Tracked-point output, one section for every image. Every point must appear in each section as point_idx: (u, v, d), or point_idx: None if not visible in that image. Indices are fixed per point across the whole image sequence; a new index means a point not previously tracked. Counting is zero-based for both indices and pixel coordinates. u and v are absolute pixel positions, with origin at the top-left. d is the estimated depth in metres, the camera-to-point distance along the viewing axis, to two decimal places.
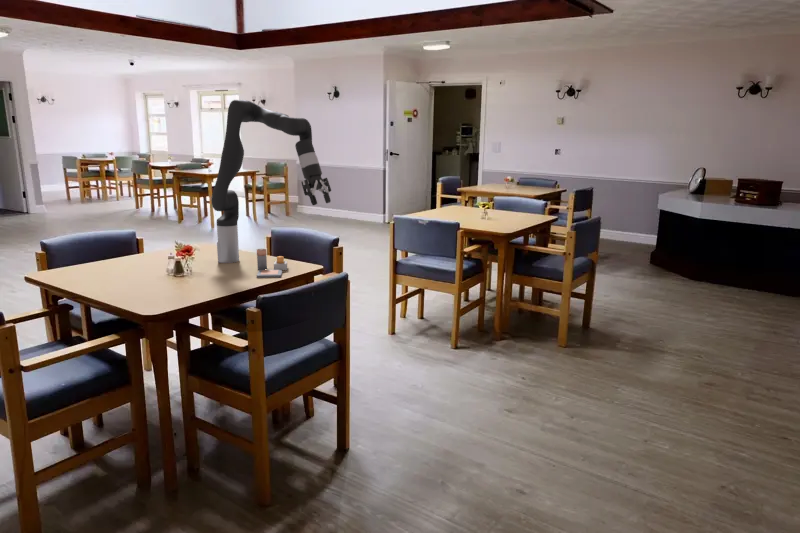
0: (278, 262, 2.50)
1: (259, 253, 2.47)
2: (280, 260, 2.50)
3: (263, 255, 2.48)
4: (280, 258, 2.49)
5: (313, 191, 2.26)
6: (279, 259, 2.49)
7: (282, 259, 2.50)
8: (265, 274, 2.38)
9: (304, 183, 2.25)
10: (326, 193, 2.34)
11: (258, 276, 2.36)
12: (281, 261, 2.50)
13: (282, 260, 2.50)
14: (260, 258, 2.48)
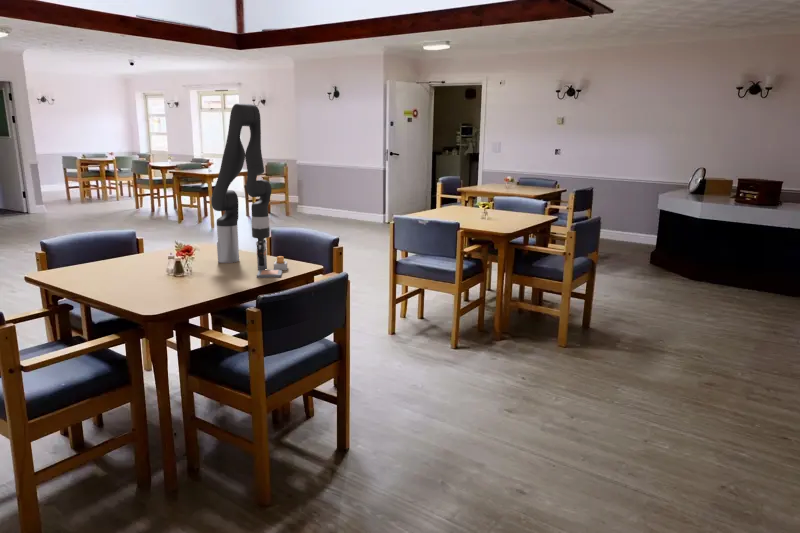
0: (278, 262, 2.50)
1: (260, 253, 2.47)
2: (280, 260, 2.50)
3: None
4: (280, 258, 2.49)
5: None
6: (279, 259, 2.49)
7: (282, 259, 2.50)
8: (265, 274, 2.38)
9: (260, 248, 2.42)
10: None
11: (258, 276, 2.36)
12: (281, 261, 2.50)
13: (282, 260, 2.50)
14: None
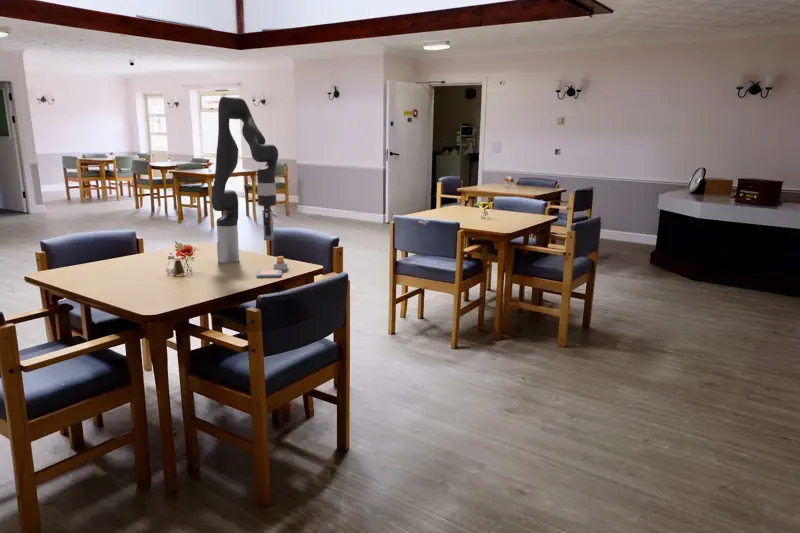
0: (278, 262, 2.50)
1: (266, 222, 2.35)
2: (280, 260, 2.50)
3: None
4: (280, 258, 2.49)
5: (270, 223, 2.35)
6: (279, 259, 2.49)
7: (282, 259, 2.50)
8: (265, 274, 2.38)
9: (267, 216, 2.30)
10: None
11: (258, 276, 2.36)
12: (281, 261, 2.50)
13: (282, 260, 2.50)
14: None
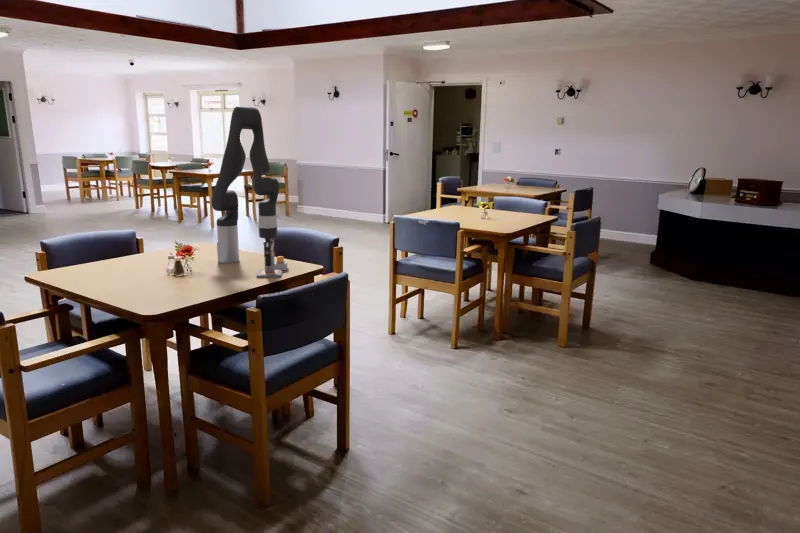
0: (278, 262, 2.50)
1: None
2: (280, 260, 2.50)
3: (271, 257, 2.38)
4: (280, 258, 2.49)
5: None
6: (279, 259, 2.49)
7: (282, 259, 2.50)
8: (265, 274, 2.38)
9: (267, 245, 2.32)
10: None
11: (258, 276, 2.36)
12: (281, 261, 2.50)
13: (282, 260, 2.50)
14: None
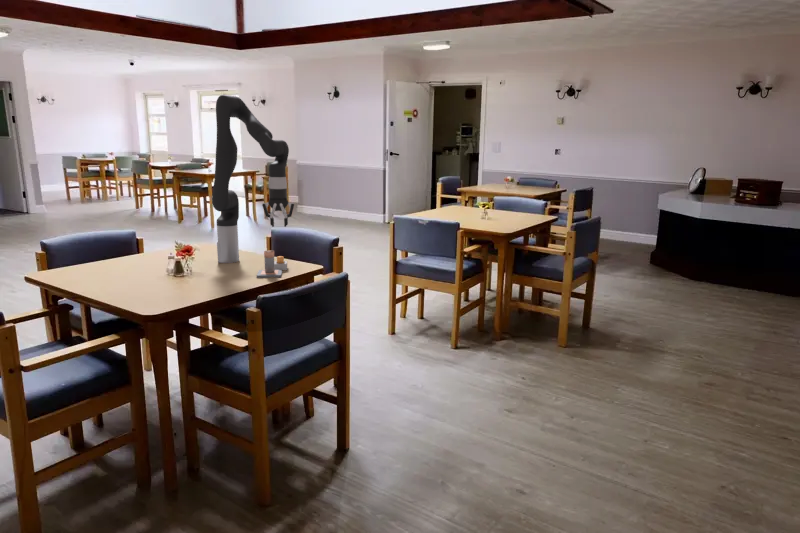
0: (278, 262, 2.50)
1: (267, 255, 2.38)
2: (280, 260, 2.50)
3: (271, 257, 2.38)
4: (280, 258, 2.49)
5: (272, 215, 2.45)
6: (279, 259, 2.49)
7: (282, 259, 2.50)
8: (265, 274, 2.38)
9: (263, 206, 2.44)
10: None
11: (258, 276, 2.36)
12: (281, 261, 2.50)
13: (282, 260, 2.50)
14: (268, 260, 2.38)
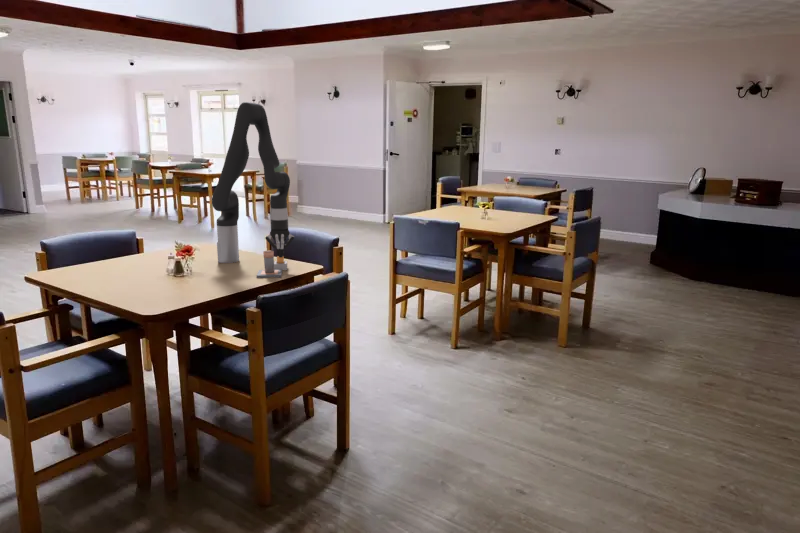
0: (278, 262, 2.50)
1: (267, 255, 2.38)
2: (280, 260, 2.50)
3: (270, 257, 2.38)
4: (280, 258, 2.49)
5: (279, 246, 2.48)
6: (279, 259, 2.49)
7: (282, 259, 2.50)
8: (265, 274, 2.38)
9: None
10: None
11: (258, 276, 2.36)
12: (281, 261, 2.50)
13: (282, 260, 2.50)
14: (267, 260, 2.38)
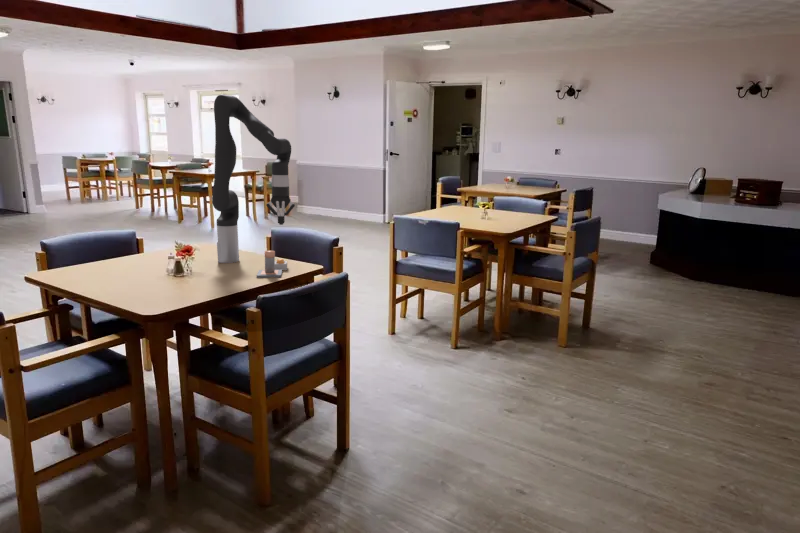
0: None
1: (268, 255, 2.38)
2: None
3: (272, 257, 2.38)
4: (280, 261, 2.50)
5: (280, 213, 2.49)
6: (279, 262, 2.50)
7: (282, 262, 2.50)
8: (265, 274, 2.38)
9: (268, 206, 2.48)
10: (280, 214, 2.49)
11: (258, 276, 2.36)
12: None
13: None
14: (268, 260, 2.38)
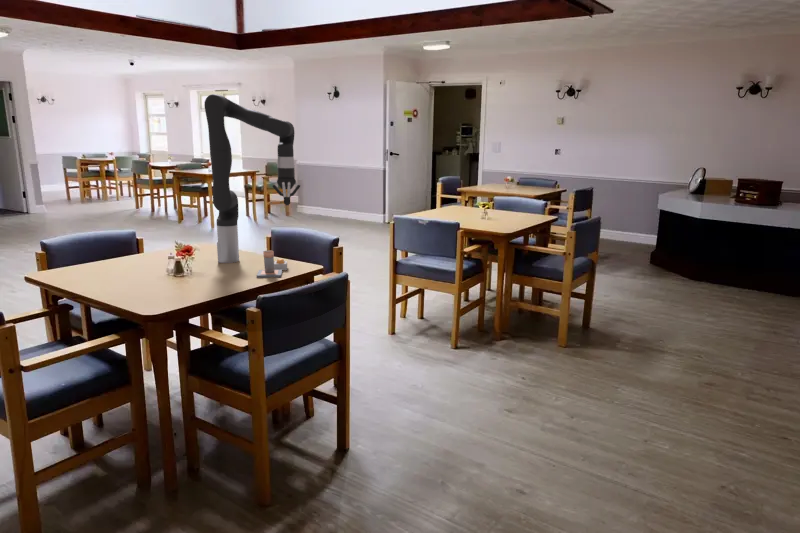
0: None
1: (267, 255, 2.38)
2: None
3: (271, 257, 2.39)
4: (280, 261, 2.50)
5: None
6: (279, 262, 2.50)
7: (282, 262, 2.50)
8: (265, 274, 2.38)
9: (274, 188, 2.56)
10: (286, 195, 2.57)
11: (258, 276, 2.36)
12: None
13: None
14: (268, 260, 2.38)
